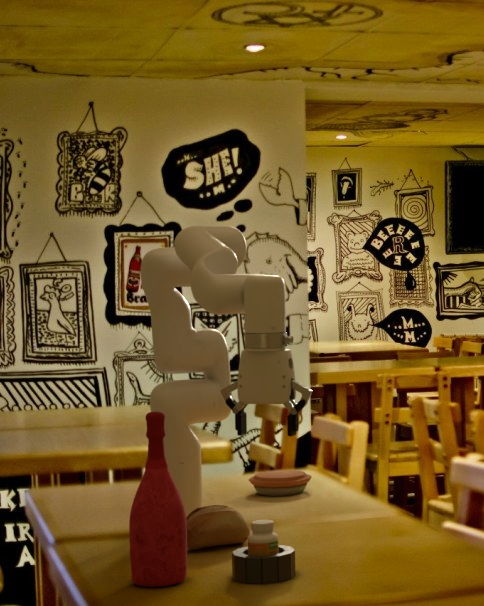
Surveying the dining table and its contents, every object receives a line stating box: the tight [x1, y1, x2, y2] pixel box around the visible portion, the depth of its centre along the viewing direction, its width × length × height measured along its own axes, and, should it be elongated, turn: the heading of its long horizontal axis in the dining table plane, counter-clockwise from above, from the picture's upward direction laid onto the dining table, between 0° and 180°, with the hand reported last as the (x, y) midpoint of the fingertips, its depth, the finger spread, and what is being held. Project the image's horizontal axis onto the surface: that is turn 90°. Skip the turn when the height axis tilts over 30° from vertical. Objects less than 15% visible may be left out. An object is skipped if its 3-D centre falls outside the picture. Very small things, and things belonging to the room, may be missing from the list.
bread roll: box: [186, 504, 251, 550], centre depth 246 cm, size 10×15×8 cm, turn 130°
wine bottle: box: [128, 411, 188, 588], centre depth 217 cm, size 10×10×30 cm
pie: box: [248, 469, 312, 497], centre depth 308 cm, size 16×16×5 cm
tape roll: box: [231, 544, 296, 585], centre depth 220 cm, size 11×11×4 cm
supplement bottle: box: [247, 519, 279, 556], centre depth 220 cm, size 5×5×10 cm
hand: (266, 434), depth 229 cm, fingers open, 9 cm apart
